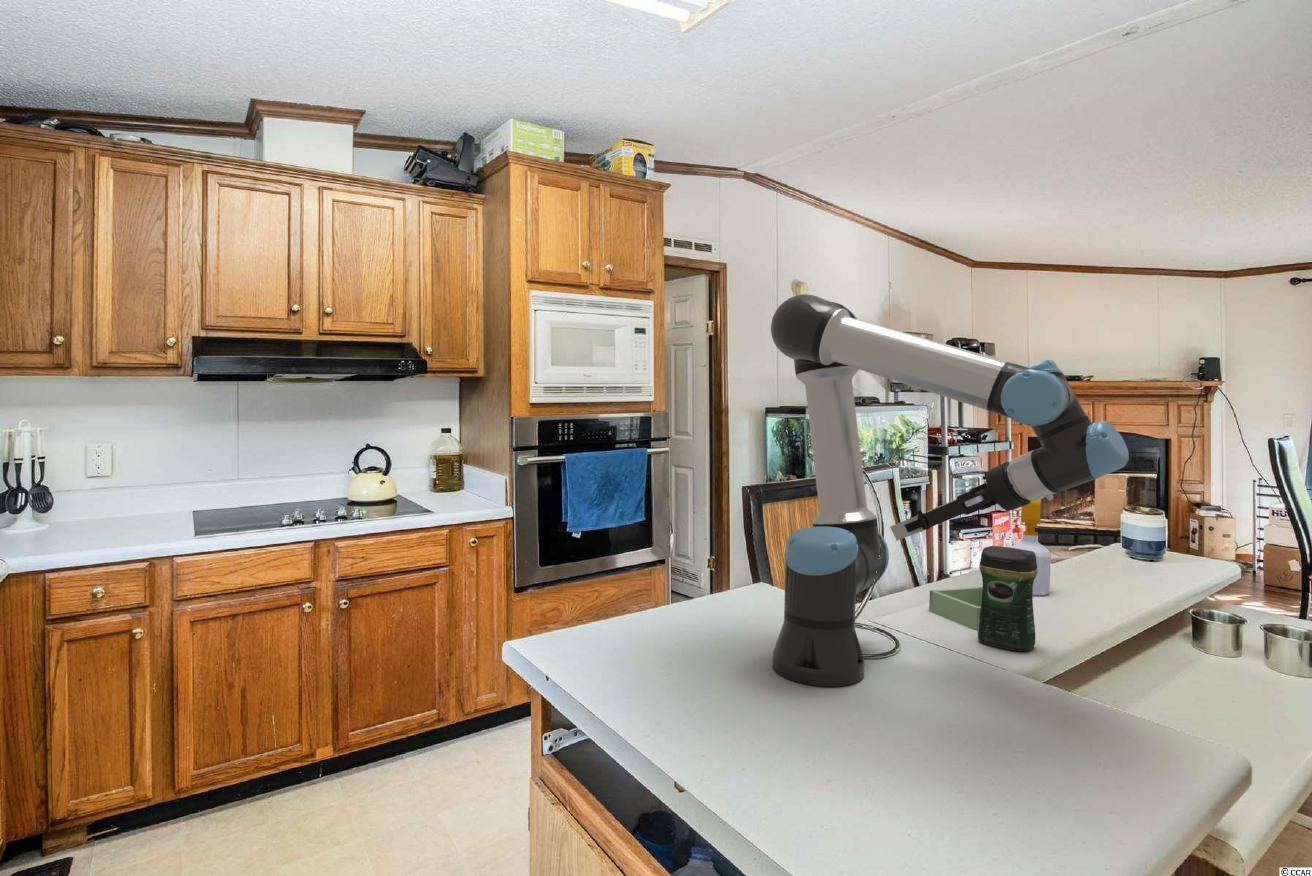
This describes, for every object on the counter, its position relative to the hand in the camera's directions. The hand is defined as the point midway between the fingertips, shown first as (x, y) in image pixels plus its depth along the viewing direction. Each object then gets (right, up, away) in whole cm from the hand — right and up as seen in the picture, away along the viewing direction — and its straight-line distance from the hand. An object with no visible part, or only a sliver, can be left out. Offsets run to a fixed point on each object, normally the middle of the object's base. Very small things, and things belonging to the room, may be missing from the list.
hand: (913, 525), depth 127 cm
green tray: (+22, -23, +21) cm, 38 cm away
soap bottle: (+45, -22, +44) cm, 67 cm away
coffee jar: (+19, -23, +4) cm, 30 cm away
